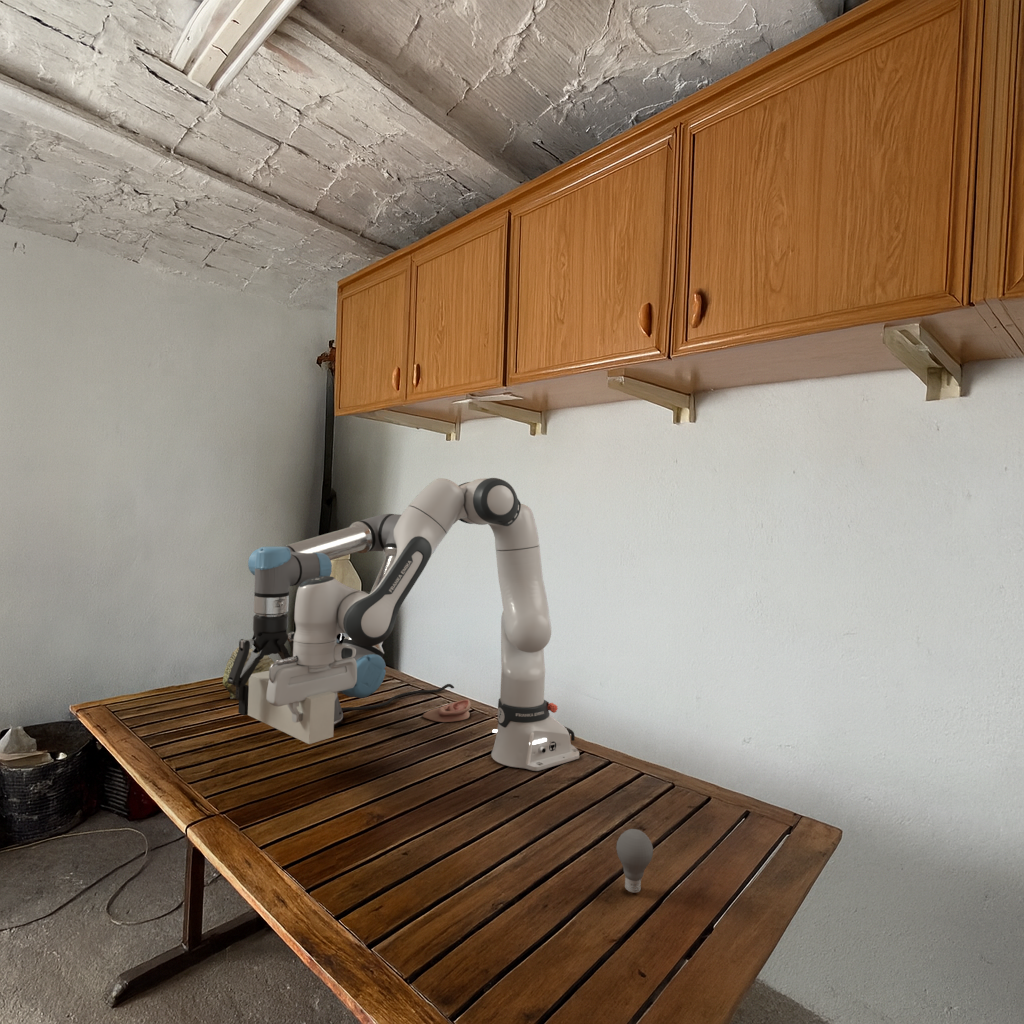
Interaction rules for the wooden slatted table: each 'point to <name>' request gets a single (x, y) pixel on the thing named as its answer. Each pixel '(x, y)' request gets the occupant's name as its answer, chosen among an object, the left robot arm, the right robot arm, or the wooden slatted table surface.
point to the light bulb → (634, 857)
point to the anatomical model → (450, 712)
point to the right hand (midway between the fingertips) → (312, 717)
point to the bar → (313, 708)
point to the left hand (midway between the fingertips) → (267, 707)
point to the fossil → (261, 667)
